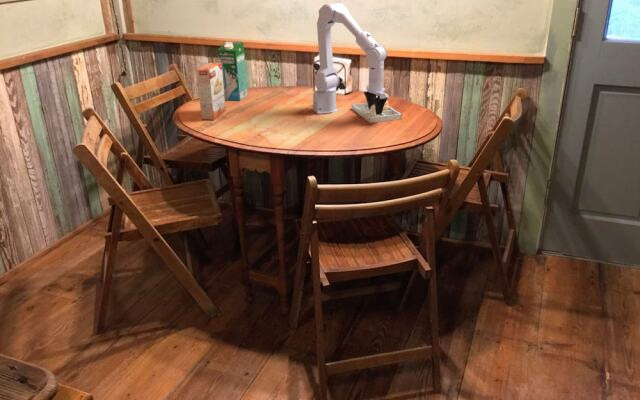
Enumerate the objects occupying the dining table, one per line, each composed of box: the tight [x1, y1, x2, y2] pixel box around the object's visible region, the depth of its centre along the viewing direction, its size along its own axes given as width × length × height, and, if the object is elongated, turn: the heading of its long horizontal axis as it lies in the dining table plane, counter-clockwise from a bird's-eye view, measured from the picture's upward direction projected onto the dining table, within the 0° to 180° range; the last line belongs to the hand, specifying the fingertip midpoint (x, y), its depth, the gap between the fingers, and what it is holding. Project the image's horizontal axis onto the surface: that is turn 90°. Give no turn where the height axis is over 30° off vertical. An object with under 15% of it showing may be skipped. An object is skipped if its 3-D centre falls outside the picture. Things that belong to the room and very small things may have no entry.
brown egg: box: [383, 100, 389, 111], centre depth 227 cm, size 4×4×6 cm
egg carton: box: [351, 102, 403, 124], centre depth 227 cm, size 14×20×2 cm
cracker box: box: [196, 62, 226, 121], centre depth 227 cm, size 14×6×21 cm, turn 168°
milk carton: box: [217, 41, 249, 102], centre depth 250 cm, size 9×9×25 cm
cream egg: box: [370, 105, 380, 117], centre depth 220 cm, size 4×4×6 cm
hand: (375, 111), depth 220 cm, fingers open, 7 cm apart
